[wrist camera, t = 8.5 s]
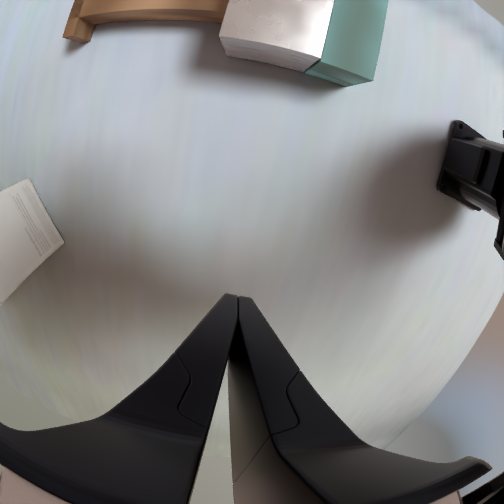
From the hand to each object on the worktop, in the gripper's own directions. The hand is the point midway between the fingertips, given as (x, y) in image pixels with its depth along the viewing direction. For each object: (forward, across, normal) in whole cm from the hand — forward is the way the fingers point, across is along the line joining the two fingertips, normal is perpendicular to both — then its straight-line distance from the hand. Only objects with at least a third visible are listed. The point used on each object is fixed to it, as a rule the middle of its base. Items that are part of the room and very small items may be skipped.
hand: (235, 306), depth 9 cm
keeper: (+12, +1, -13) cm, 18 cm away
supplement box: (+12, +20, +6) cm, 24 cm away
